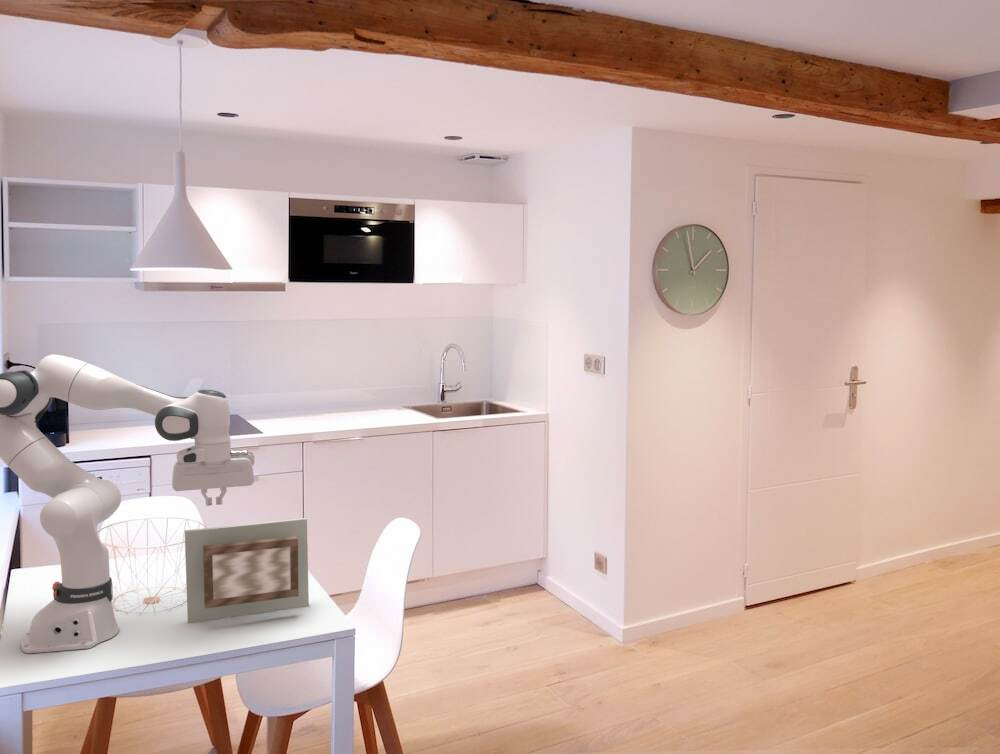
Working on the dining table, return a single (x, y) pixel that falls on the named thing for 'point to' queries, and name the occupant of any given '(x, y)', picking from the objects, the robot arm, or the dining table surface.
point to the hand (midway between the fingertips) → (214, 504)
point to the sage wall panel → (241, 534)
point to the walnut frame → (250, 571)
